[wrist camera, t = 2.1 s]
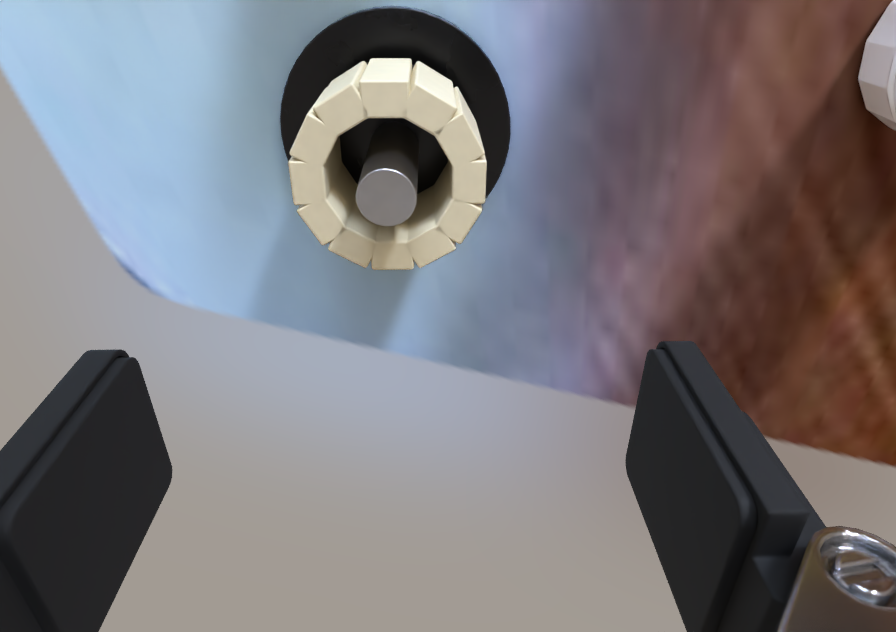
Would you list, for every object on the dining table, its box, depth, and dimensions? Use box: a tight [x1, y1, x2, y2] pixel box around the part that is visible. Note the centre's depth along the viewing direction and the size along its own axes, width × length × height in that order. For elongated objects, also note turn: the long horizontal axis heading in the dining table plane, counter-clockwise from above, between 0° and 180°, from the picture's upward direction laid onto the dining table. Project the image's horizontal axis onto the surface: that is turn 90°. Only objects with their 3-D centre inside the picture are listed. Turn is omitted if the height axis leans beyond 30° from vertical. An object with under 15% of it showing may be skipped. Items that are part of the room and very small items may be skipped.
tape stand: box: [280, 6, 510, 226], centre depth 23 cm, size 10×10×8 cm
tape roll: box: [288, 58, 487, 270], centre depth 23 cm, size 7×7×4 cm
